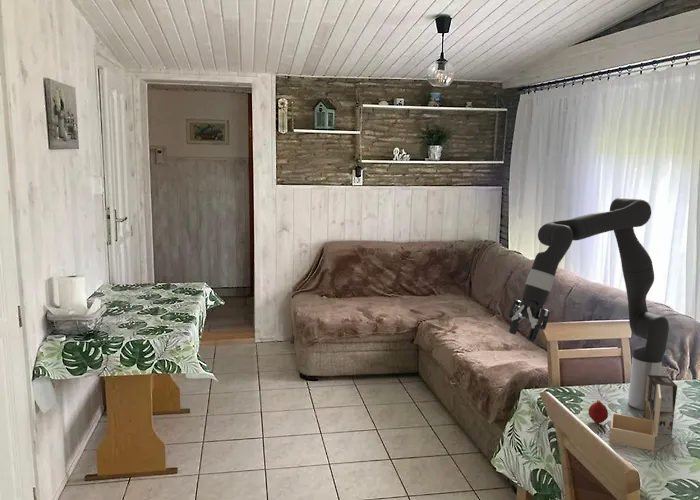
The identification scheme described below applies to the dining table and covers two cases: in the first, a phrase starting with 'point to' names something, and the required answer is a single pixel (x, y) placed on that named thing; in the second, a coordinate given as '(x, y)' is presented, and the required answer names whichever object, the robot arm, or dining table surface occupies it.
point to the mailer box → (636, 428)
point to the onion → (598, 412)
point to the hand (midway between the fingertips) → (521, 337)
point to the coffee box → (667, 401)
